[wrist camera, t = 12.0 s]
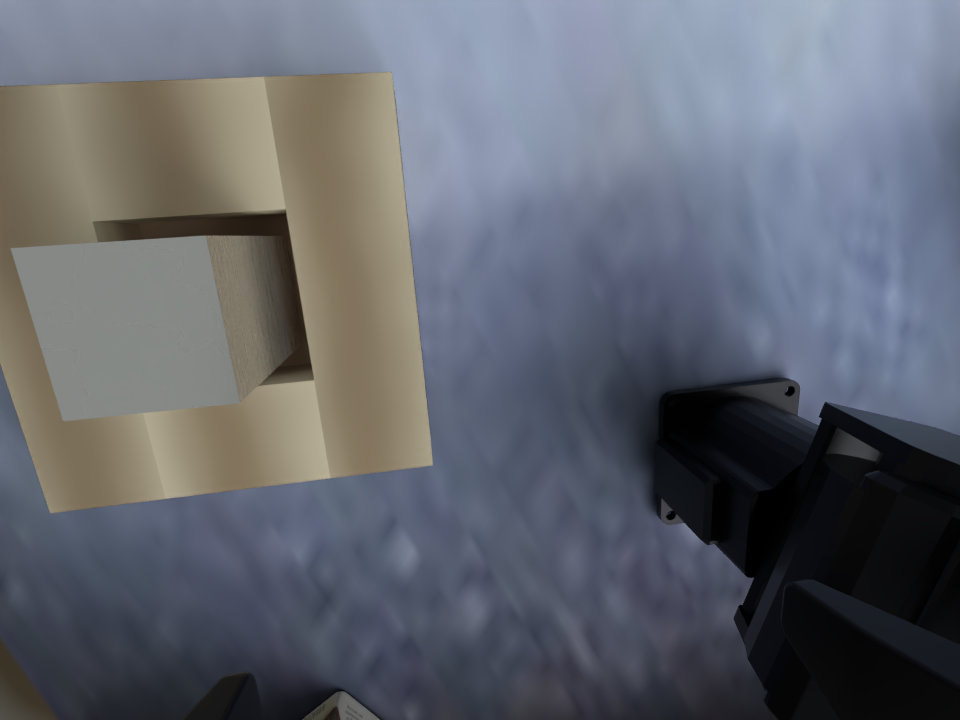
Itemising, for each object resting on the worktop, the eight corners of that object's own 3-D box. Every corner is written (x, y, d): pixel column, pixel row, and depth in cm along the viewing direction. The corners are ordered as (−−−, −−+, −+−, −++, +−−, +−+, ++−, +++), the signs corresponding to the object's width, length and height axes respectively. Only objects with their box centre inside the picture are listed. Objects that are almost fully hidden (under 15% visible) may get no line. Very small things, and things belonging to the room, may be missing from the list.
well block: (395, 99, 17) (391, 72, 15) (430, 433, 21) (432, 465, 18) (-1, 116, 16) (-92, 89, 13) (104, 471, 19) (50, 513, 16)
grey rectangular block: (285, 236, 18) (205, 235, 11) (302, 343, 19) (239, 403, 12) (168, 243, 17) (10, 248, 10) (193, 353, 18) (63, 421, 11)
